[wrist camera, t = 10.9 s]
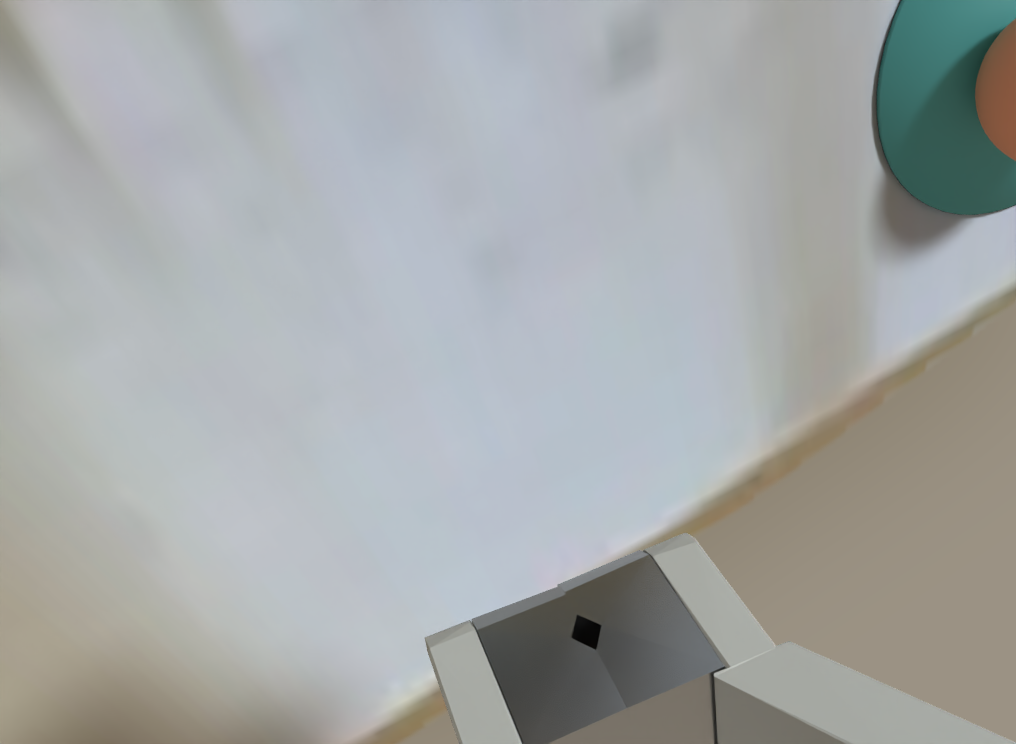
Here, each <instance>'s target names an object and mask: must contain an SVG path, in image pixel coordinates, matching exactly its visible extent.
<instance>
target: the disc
mask: <svg viewBox="0 0 1016 744" xmlns="http://www.w3.org/2000/svg"><path fill="white" fill-rule="evenodd" d="M1014 19H1016V0H901V2H900V5H899V7H898V9H897V12H896V14H895V16H894V19H893V22H892V25H891V28H890V31H889V34H888V37H887V40H886V43H885V47H884V52H883V57H882V61H881V66H880V71H879V80H878V88H877V120H878V128H879V136H880V140H881V143H882V147H883V151H884V154H885V157H886V159H887V161H888V163H889V166H890V168H891V170H892V172H893V173H894V175H895V176H896V177H897V179H898V180H899V182H900V183H901V185H902V186H903V187H904V188H905V189H906V190H907V191H908V192H909V193H910V194H911V195H913V196H914V197H916V198H917V199H919V200H920V201H922V202H923V203H925V204H927V205H929V206H931V207H934V208H936V209H938V210H941V211H944V212H949V213H954V214H967V215H975V214H983V213H991V212H995V211H998V210H1002V209H1006V208H1009V207H1011V206H1014V205H1016V161H1015V160H1013V159H1011V158H1010V157H1008V156H1007V155H1005V154H1004V153H1003V152H1002V151H1001V150H999V149H998V148H997V147H996V146H995V145H994V144H993V143H992V142H991V140H990V139H989V138H988V136H987V135H986V133H985V131H984V130H983V128H982V126H981V123H980V120H979V118H978V114H977V109H976V101H975V87H976V80H977V76H978V73H979V69H980V66H981V64H982V61H983V59H984V56H985V55H986V53H987V51H988V49H989V48H990V46H991V45H992V43H993V42H994V40H995V39H996V38H997V36H998V35H999V34H1000V33H1001V32H1002V31H1003V30H1004V29H1005V28H1006V27H1007V26H1008V25H1009V24H1010V23H1011V22H1012V21H1013V20H1014Z"/></svg>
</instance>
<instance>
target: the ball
mask: <svg viewBox="0 0 1016 744" xmlns="http://www.w3.org/2000/svg"><path fill="white" fill-rule="evenodd" d="M975 101H976V109H977V114H978V118H979V120H980V123H981V126H982V128H983V130H984V131H985V133H986V135H987V136H988V138H989V139H990V140H991V142H992V143H993V144H994V145H995V146H996V147H997V148H998V149H999V150H1001V151H1002V152H1003V153H1004V154H1005V155H1007V156H1008V157H1010V158H1011V159H1013V160H1015V161H1016V19H1014V20H1013V21H1012V22H1011V23H1010V24H1009V25H1008V26H1007V27H1006V28H1005V29H1004V30H1003V31H1002V32H1001V33H1000V34H999V35H998V36H997V38H996V39H995V40H994V42H993V43H992V45H991V46H990V48H989V49H988V51H987V53H986V55H985V56H984V59H983V61H982V64H981V66H980V69H979V73H978V76H977V80H976V87H975Z"/></svg>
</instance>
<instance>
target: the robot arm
mask: <svg viewBox="0 0 1016 744" xmlns="http://www.w3.org/2000/svg"><path fill="white" fill-rule="evenodd" d="M425 641H426V646H427V651H428V655H429V657H430V660H431V663H432V666H433V669H434V672H435V675H436V678H437V681H438V684H439V687H440V690H441V693H442V695H443V698H444V701H445V704H446V707H447V710H448V713H449V716H450V719H451V722H452V725H453V728H454V730H455V733H456V736H457V739H458V742H459V744H1016V742H1013V741H1011V740H1009V739H1007V738H1004V737H1002V736H1000V735H998V734H995V733H993V732H991V731H989V730H987V729H985V728H982V727H980V726H978V725H976V724H973V723H971V722H969V721H967V720H964V719H962V718H960V717H958V716H955V715H953V714H951V713H949V712H946V711H944V710H942V709H940V708H938V707H935V706H933V705H931V704H928V703H926V702H924V701H922V700H920V699H917V698H915V697H913V696H911V695H909V694H906V693H904V692H902V691H900V690H897V689H895V688H893V687H891V686H888V685H886V684H884V683H882V682H880V681H877V680H875V679H873V678H871V677H868V676H866V675H864V674H862V673H859V672H857V671H855V670H853V669H851V668H848V667H846V666H844V665H842V664H839V663H837V662H835V661H833V660H830V659H828V658H826V657H823V656H821V655H819V654H817V653H815V652H812V651H810V650H808V649H806V648H804V647H801V646H799V645H797V644H795V643H792V642H790V641H788V642H785V643H783V644H780V645H778V646H776V645H775V644H774V643H773V641H772V640H771V639H770V638H769V636H768V635H767V633H766V632H765V631H764V629H763V628H762V627H761V625H760V624H759V623H758V621H757V620H756V619H755V617H754V616H753V615H752V613H751V612H750V611H749V609H748V608H747V607H746V605H745V604H744V603H743V601H742V600H741V599H740V597H739V596H738V595H737V594H736V592H735V591H734V589H733V588H732V587H731V586H730V585H729V583H728V581H726V579H725V578H724V576H723V575H722V574H721V572H720V571H719V570H718V568H717V567H716V566H715V564H714V563H713V562H712V560H711V559H710V558H709V556H708V555H707V554H706V552H705V551H704V550H703V548H702V547H701V546H700V544H699V543H698V542H697V540H696V539H695V538H694V537H692V536H691V535H689V534H687V533H684V534H681V535H678V536H676V537H674V538H671V539H669V540H666V541H664V542H661V543H659V544H657V545H654V546H652V547H649V548H647V549H644V550H643V551H640V550H639V551H637V552H634V553H632V554H629V555H627V556H625V557H622V558H620V559H618V560H615V561H613V562H610V563H608V564H606V565H603V566H601V567H599V568H596V569H594V570H591V571H589V572H587V573H584V574H582V575H580V576H577V577H575V578H573V579H570V580H568V581H565V582H563V583H561V584H558V586H557V587H556V588H553V589H550V590H548V591H545V592H542V593H540V594H537V595H534V596H532V597H529V598H526V599H524V600H521V601H518V602H516V603H513V604H510V605H508V606H505V607H502V608H500V609H497V610H494V611H492V612H489V613H486V614H484V615H481V616H478V617H476V618H473V619H472V623H471V621H470V620H468V621H466V622H463V623H461V624H458V625H455V626H453V627H450V628H448V629H445V630H443V631H440V632H438V633H435V634H433V635H430V636H428V637H425Z"/></svg>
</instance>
